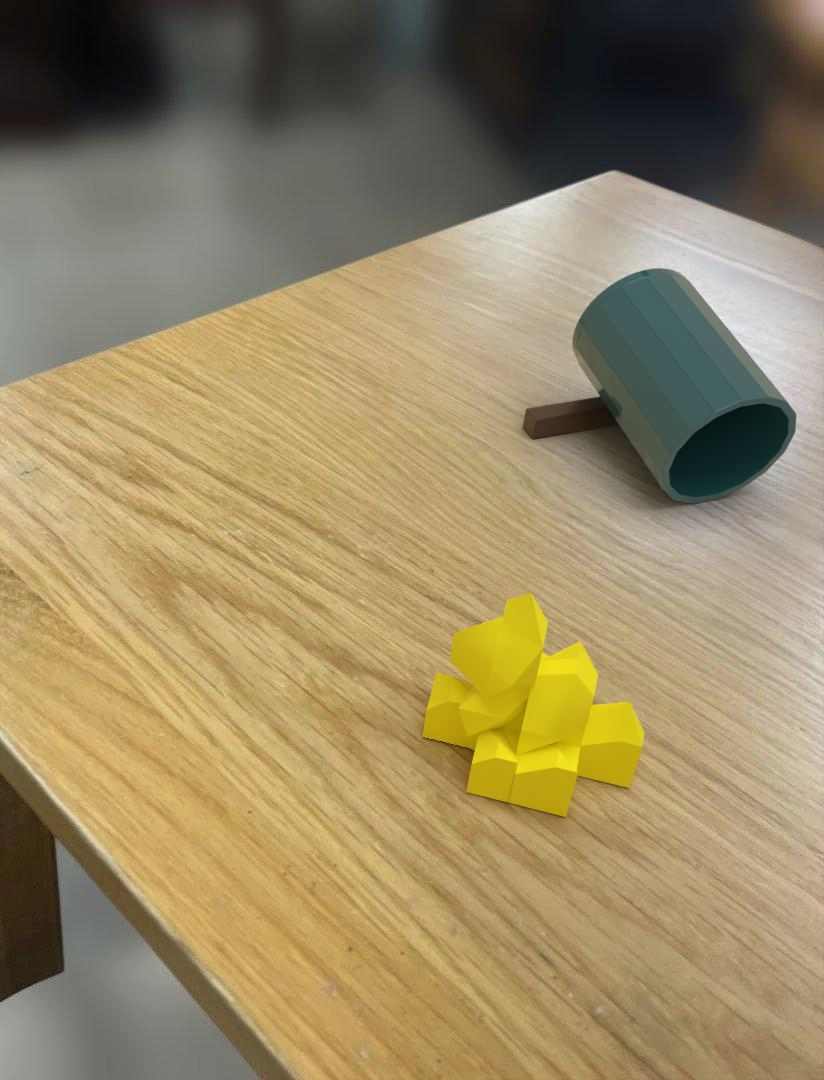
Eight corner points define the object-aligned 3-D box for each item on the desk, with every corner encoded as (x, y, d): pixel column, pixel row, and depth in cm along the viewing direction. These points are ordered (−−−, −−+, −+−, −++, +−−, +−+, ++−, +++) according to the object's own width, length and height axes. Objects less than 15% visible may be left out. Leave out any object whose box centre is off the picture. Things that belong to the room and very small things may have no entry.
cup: (710, 261, 63) (819, 389, 56) (668, 363, 68) (764, 491, 61) (591, 275, 61) (689, 408, 55) (557, 379, 66) (644, 512, 60)
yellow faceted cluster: (624, 831, 45) (674, 683, 40) (410, 778, 46) (432, 628, 42) (636, 718, 49) (682, 571, 44) (441, 672, 51) (463, 526, 46)
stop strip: (715, 394, 68) (721, 376, 68) (728, 406, 67) (733, 387, 67) (522, 427, 65) (525, 408, 64) (532, 439, 64) (535, 420, 64)
